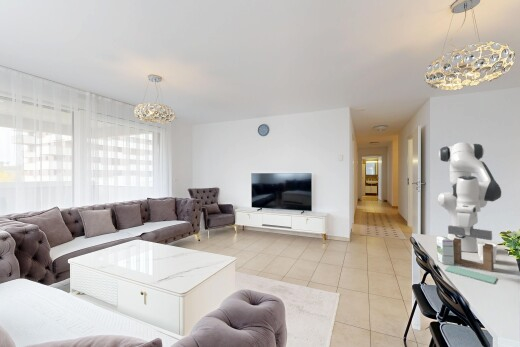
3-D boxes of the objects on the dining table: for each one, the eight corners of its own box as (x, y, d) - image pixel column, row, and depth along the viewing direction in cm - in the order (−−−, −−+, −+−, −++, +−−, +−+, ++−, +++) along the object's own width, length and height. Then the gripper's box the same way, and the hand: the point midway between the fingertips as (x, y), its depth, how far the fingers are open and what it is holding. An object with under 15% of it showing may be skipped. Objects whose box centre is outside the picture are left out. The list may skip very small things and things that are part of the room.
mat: (449, 266, 121) (449, 265, 121) (497, 278, 107) (497, 277, 107) (444, 270, 116) (444, 269, 116) (493, 284, 102) (493, 282, 102)
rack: (455, 259, 131) (454, 237, 131) (493, 268, 118) (493, 244, 118) (451, 262, 127) (451, 240, 127) (491, 271, 114) (490, 247, 114)
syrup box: (454, 265, 123) (454, 239, 123) (442, 264, 124) (442, 239, 124) (448, 261, 129) (447, 236, 129) (436, 260, 130) (436, 236, 130)
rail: (449, 232, 119) (449, 225, 119) (492, 239, 106) (492, 231, 106) (448, 233, 117) (448, 226, 117) (491, 240, 104) (490, 232, 104)
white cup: (493, 264, 122) (492, 247, 123) (474, 259, 130) (474, 243, 130) (499, 262, 126) (499, 245, 126) (481, 257, 133) (481, 241, 133)
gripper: (465, 205, 120) (465, 229, 120) (454, 208, 108) (455, 236, 108) (481, 206, 115) (481, 232, 115) (472, 210, 103) (472, 239, 103)
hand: (469, 234), depth 111 cm, fingers closed on rail, 3 cm apart
